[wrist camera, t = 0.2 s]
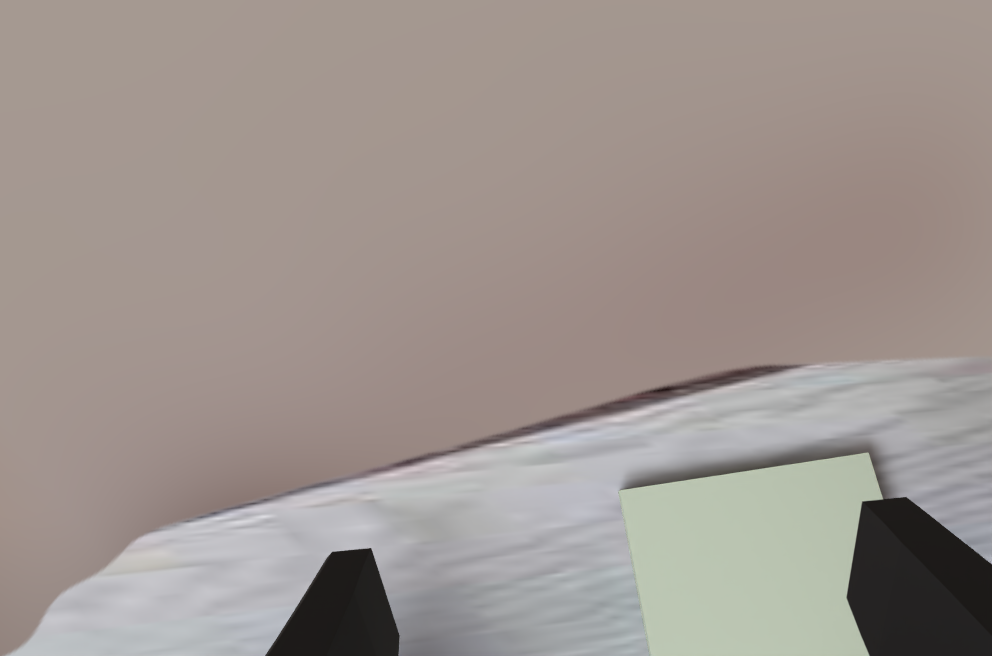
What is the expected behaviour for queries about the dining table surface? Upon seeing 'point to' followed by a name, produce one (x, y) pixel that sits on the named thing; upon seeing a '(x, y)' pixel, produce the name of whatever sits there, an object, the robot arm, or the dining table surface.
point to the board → (750, 559)
